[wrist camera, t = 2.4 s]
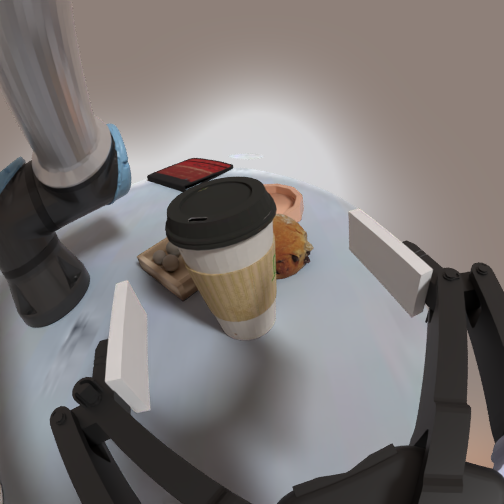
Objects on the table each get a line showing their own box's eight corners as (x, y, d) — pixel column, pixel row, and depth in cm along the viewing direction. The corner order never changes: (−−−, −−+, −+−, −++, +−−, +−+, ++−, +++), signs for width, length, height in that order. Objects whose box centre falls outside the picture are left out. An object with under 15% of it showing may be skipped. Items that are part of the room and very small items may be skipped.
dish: (204, 224, 54) (200, 212, 52) (259, 190, 61) (257, 179, 60) (263, 248, 44) (260, 233, 43) (319, 205, 52) (318, 192, 50)
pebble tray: (142, 268, 46) (134, 251, 44) (181, 242, 50) (175, 225, 48) (183, 301, 38) (174, 281, 36) (228, 267, 42) (222, 247, 40)
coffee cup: (298, 290, 36) (283, 170, 28) (282, 359, 29) (256, 227, 20) (222, 286, 39) (189, 178, 31) (193, 347, 32) (137, 230, 23)
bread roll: (286, 253, 49) (265, 207, 47) (333, 250, 40) (309, 195, 38) (239, 287, 44) (213, 238, 42) (281, 292, 35) (250, 231, 34)
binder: (183, 185, 67) (146, 175, 81) (185, 194, 68) (148, 182, 82) (236, 162, 75) (191, 156, 89) (237, 171, 76) (193, 163, 90)
